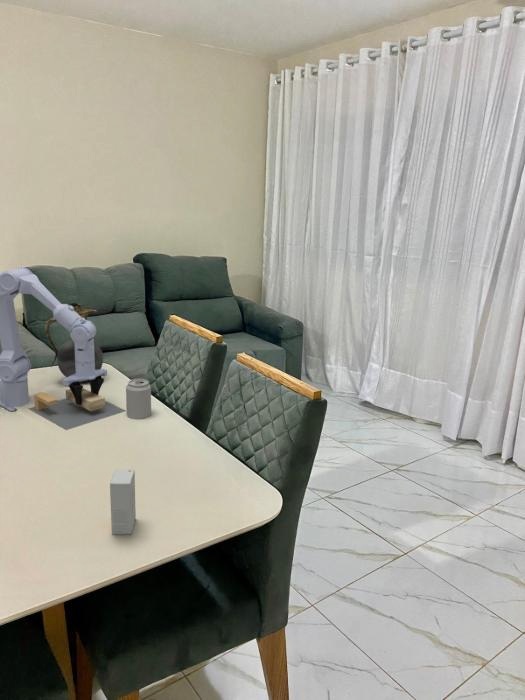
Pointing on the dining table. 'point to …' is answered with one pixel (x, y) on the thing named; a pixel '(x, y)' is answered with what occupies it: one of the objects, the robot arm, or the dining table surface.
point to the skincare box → (123, 501)
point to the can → (138, 399)
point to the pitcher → (73, 347)
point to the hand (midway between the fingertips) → (86, 401)
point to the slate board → (69, 411)
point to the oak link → (87, 400)
